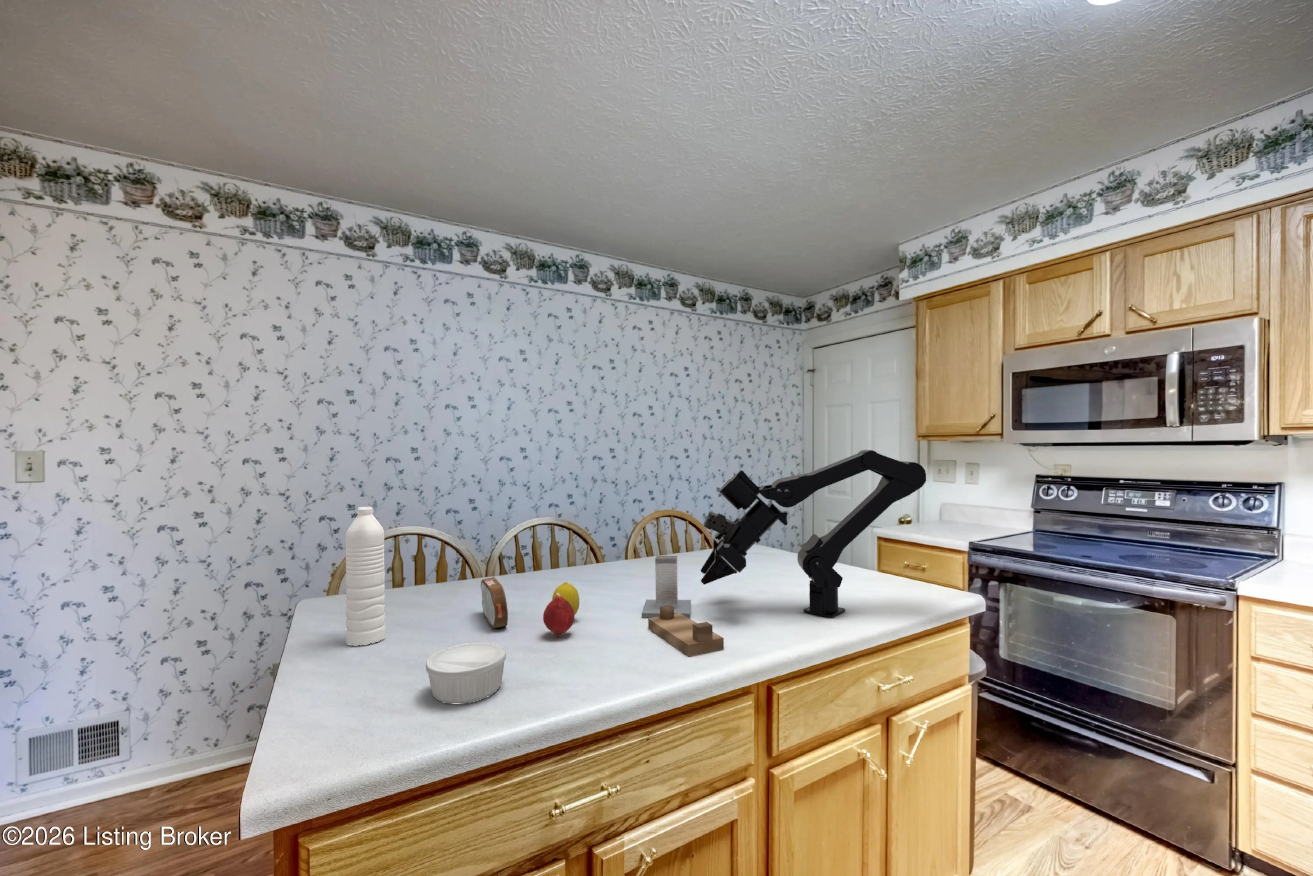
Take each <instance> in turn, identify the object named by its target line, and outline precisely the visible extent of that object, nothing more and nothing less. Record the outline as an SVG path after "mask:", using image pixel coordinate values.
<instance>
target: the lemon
mask: <svg viewBox="0 0 1313 876" xmlns="http://www.w3.org/2000/svg"><path fill="white" fill-rule="evenodd" d="M556 593H559V594H560V596H562V597H563V598H564V599H566V600H567V601H568V602H569V603H570V605H571V606H572V607H573V609H574V614H575V615H576V614H578V612H579V611H578V610H579V608H580V595H579V592H578V589H577V588H576V587H575V586H574V585H573V584H571V583H569V582H568V581H564V582H563V583H562V584H560V585H558V586H557V587H556V588H555V589H554V592H553V594H552V597H551V601H552V600H553V599H555V596H556Z"/></svg>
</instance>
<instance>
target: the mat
mask: <svg viewBox="0 0 1313 876" xmlns="http://www.w3.org/2000/svg"><path fill="white" fill-rule="evenodd" d="M691 609H692V600H691V599H678V607H677V609H674V614H678V613H680V614H682V615H684V616H686V617H688V618H689V619H691V615H692V614H691V613H692V612H691V611H692V610H691ZM654 617H660V608H656V599H645V602H644V606H643V608H642V612H641V619H648V618H654Z"/></svg>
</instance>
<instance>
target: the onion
mask: <svg viewBox="0 0 1313 876" xmlns="http://www.w3.org/2000/svg"><path fill="white" fill-rule="evenodd" d="M575 615H576V614H574V609H573V607H572V606H571V605H570V603H569V602H568V601H567V600H566V599H564V598H563V597H562V596H560V594H559V593H556V596H555V599H553V600H552V599H551V600H550V601H549V603H548V604H547V605H546V606H545V608H544V612H543V614H542V617H543V618H542V620H543V623H544V625H545V627H546V628H547V629H548V630H549V631H550V632H551V633H552V634H554V635H555V636H556V637H560V636H562V635H564V634H565V633H566V632H568V631H569V629H571V627H572V626H573V624H574V623H575Z"/></svg>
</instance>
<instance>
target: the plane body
mask: <svg viewBox="0 0 1313 876" xmlns="http://www.w3.org/2000/svg"><path fill="white" fill-rule="evenodd" d="M647 624H648V625H647V626H648V627H647V628H648V630H650V631H651V633H654V634H655V635H656V636H658V637H659V638H661V639H662V640H664V641H665V642H667V643H668V644H670V645H671V646H672V647H674V648H675V649H677V650H678V651H680V652H681V653H683V654H684V655H685V656H687V657H694V656H698V655H704V654H709V653H713V652H718V651H723V650H724V649H725V647H724V646H725V643H724V642H725V641H724V639H725V638H724V637H723V636H721V635H720V634H718V633H716V632H714V631H713V624H711V623H710V622H708V621H703V622H696V621H694V620H693V619H691V618H688V617H686V616H684V615H682V614H680V613H678V614H674V606H671V605H663V606H660V617H654V618H647Z"/></svg>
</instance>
